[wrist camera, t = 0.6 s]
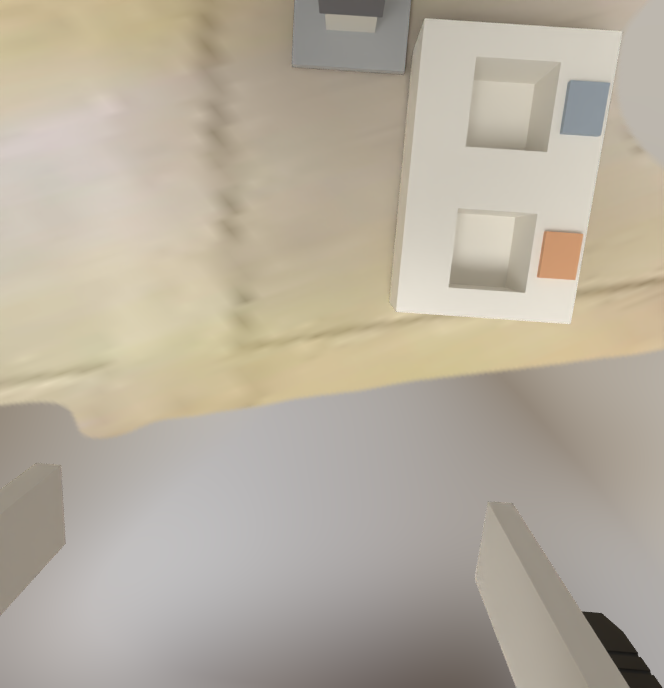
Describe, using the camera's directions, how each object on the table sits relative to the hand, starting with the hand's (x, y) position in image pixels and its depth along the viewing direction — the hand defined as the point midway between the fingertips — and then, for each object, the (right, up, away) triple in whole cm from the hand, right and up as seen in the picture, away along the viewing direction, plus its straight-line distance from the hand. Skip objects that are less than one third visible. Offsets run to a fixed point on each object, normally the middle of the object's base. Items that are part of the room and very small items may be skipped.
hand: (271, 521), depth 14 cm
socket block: (+13, +17, +21) cm, 30 cm away
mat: (+3, +29, +18) cm, 35 cm away
